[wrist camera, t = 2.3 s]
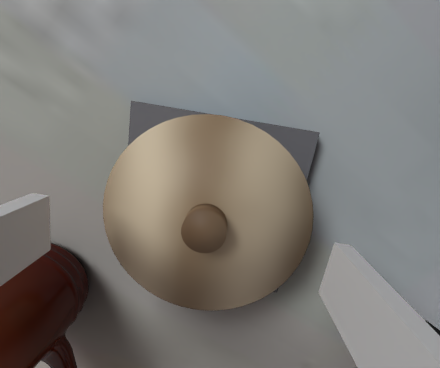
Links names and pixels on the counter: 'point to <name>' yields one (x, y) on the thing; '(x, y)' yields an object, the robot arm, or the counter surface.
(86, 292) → the mug
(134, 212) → the lid
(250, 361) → the counter surface
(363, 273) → the robot arm
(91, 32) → the counter surface
